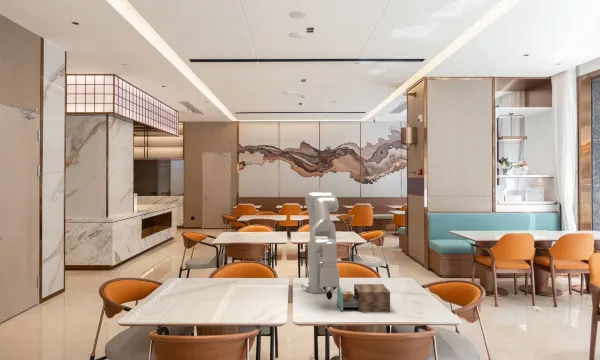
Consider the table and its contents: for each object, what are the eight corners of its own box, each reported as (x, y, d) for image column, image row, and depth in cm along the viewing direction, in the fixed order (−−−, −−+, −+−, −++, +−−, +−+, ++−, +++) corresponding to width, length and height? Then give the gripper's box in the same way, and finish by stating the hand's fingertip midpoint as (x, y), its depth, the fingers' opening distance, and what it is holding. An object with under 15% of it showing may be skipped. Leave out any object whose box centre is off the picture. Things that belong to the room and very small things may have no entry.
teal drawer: (340, 310, 207) (340, 292, 207) (337, 301, 223) (337, 285, 223) (371, 310, 208) (371, 292, 208) (365, 301, 223) (365, 285, 223)
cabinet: (359, 311, 207) (359, 292, 207) (353, 302, 223) (354, 284, 223) (390, 311, 208) (390, 292, 208) (382, 302, 224) (382, 284, 224)
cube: (343, 303, 213) (343, 294, 213) (342, 300, 218) (342, 291, 218) (353, 303, 213) (353, 294, 213) (352, 300, 218) (352, 291, 218)
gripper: (315, 265, 211) (315, 301, 211) (344, 266, 211) (344, 301, 211) (314, 263, 219) (314, 297, 219) (342, 263, 219) (342, 297, 219)
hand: (329, 299), depth 215 cm, fingers closed
